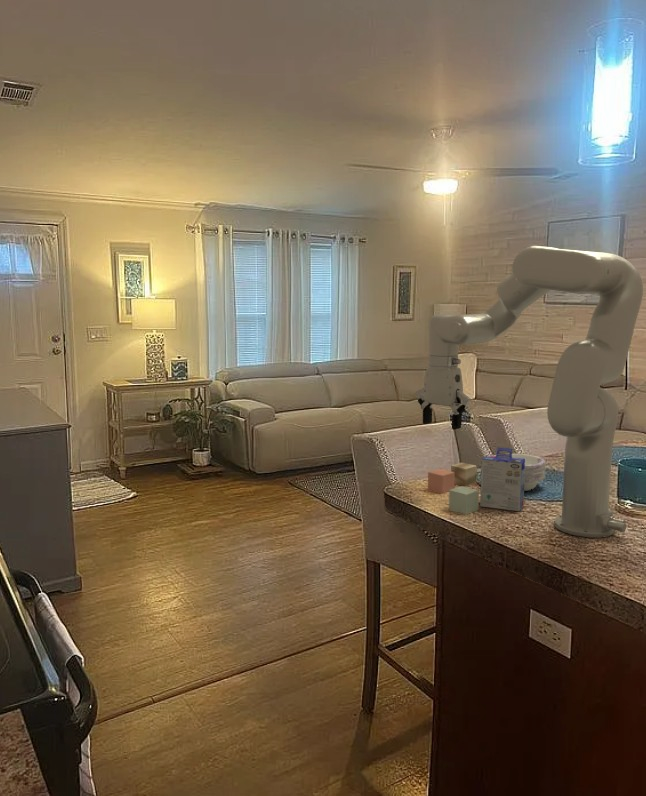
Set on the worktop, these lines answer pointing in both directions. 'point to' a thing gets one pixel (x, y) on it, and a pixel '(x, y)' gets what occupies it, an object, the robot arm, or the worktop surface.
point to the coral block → (441, 481)
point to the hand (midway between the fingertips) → (441, 426)
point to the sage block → (463, 499)
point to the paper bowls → (532, 470)
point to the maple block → (464, 474)
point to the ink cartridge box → (502, 481)
